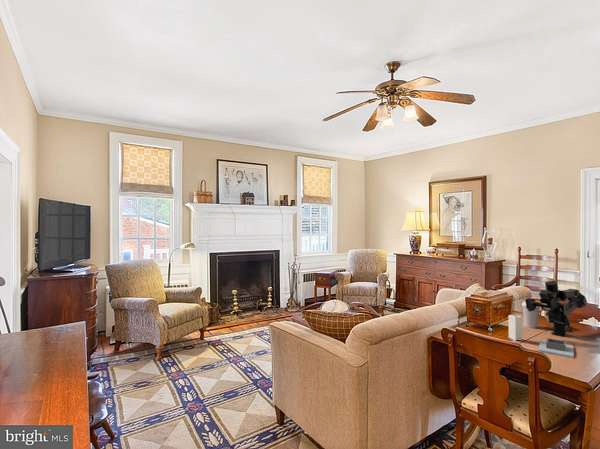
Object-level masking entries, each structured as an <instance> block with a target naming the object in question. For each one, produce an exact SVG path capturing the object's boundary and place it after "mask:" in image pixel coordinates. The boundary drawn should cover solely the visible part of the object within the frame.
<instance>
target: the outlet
mask: <svg viewBox="0 0 600 449" xmlns="http://www.w3.org/2000/svg"><path fill="white" fill-rule="evenodd" d="M538 351H541V352H540V353H544V354H549V355H556V356H561V357H567V358H571V359H574V358H575V357H574V354H575V353H574V345H573V344H567V343H566V340H563V339H562V340H561V339H555V338H550V337H546V340H543V339H540V340H539V345H538V349H537V352H538Z"/></svg>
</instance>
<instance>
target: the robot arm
mask: <svg viewBox="0 0 600 449" xmlns="http://www.w3.org/2000/svg"><path fill="white" fill-rule="evenodd" d="M544 284H545V289H541V290H540V291H539V292H538V295H539V297H540V298H539V300H538V301H536V299H535V298H532V297H531V298H530V297H527V298H526V299H525V300H524V301H526V308H527V309H528V311H534V310H535V309H536V306H538V307H539V308H541V310H542V311H546V316H547V315H548V317H549V321H548V322H549V323H551V324H552V326H553V328H552V329H553V330H552V332H551V333H550V334H551V335H554V336H560V337H567V335H568V333H567V332H566V330H567V329H566V326H567V327H570V325H571V320H570V318H569V317H568V316H569V315H570V314H572V313H573V312H574V311H575V310H577V309H584V308H585V307H586V306H587V305H588V301H587V297H586V296H585V295H584V294H582V293H581V292H580V290H578V289H574V288H568V289H563V290H560V289H559V285H558V282H557V281H556V280H552V281H550V280H549V281H545V282H544ZM566 301H567V303H565V304H564V303H561V302H566ZM547 311H548V312H547Z"/></svg>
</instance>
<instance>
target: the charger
mask: <svg viewBox="0 0 600 449" xmlns="http://www.w3.org/2000/svg"><path fill="white" fill-rule="evenodd" d="M509 338H511V339H513V340H512V341H514V340H522V341H523V316H520V315H516V314H509V315H508V339H509ZM511 339H510V340H511Z"/></svg>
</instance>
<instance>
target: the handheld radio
mask: <svg viewBox="0 0 600 449" xmlns="http://www.w3.org/2000/svg"><path fill="white" fill-rule="evenodd" d="M547 312H548V311H547V310H546V313H547ZM546 320H547V322H549V317H548V315H547V314H546ZM566 330H568V331H569V332H572V331H573V330H572V329H571V328H570V327H569V326H566Z"/></svg>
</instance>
